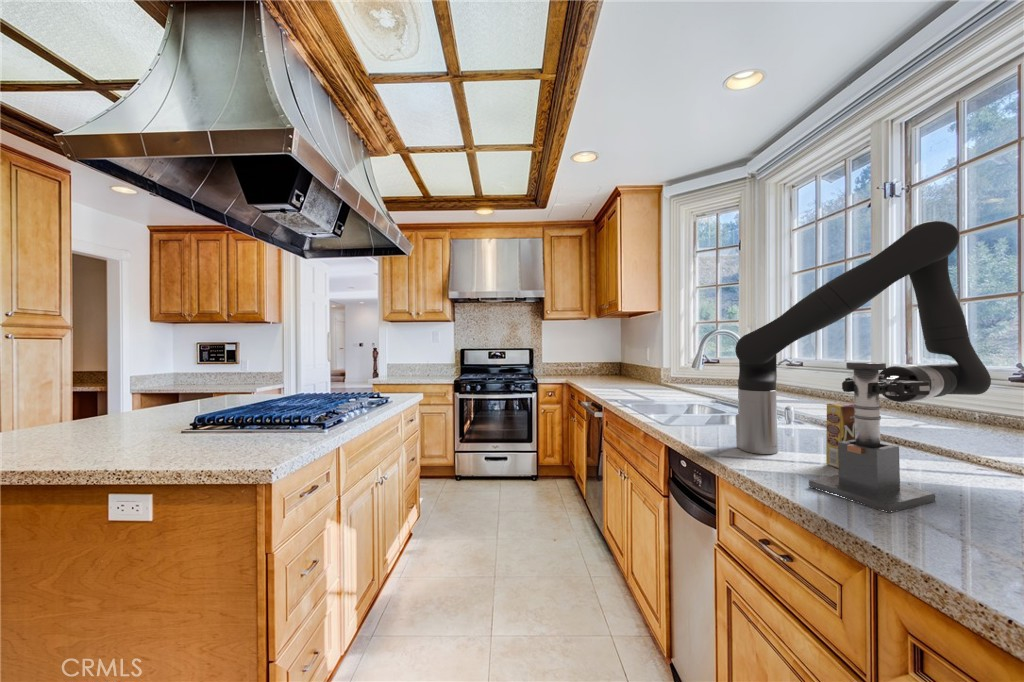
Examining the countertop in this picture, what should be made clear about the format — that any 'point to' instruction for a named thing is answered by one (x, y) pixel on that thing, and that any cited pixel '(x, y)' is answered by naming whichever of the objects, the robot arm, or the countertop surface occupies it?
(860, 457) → the stand base
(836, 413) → the candy box
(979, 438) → the countertop surface
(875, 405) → the steel column
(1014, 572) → the countertop surface
